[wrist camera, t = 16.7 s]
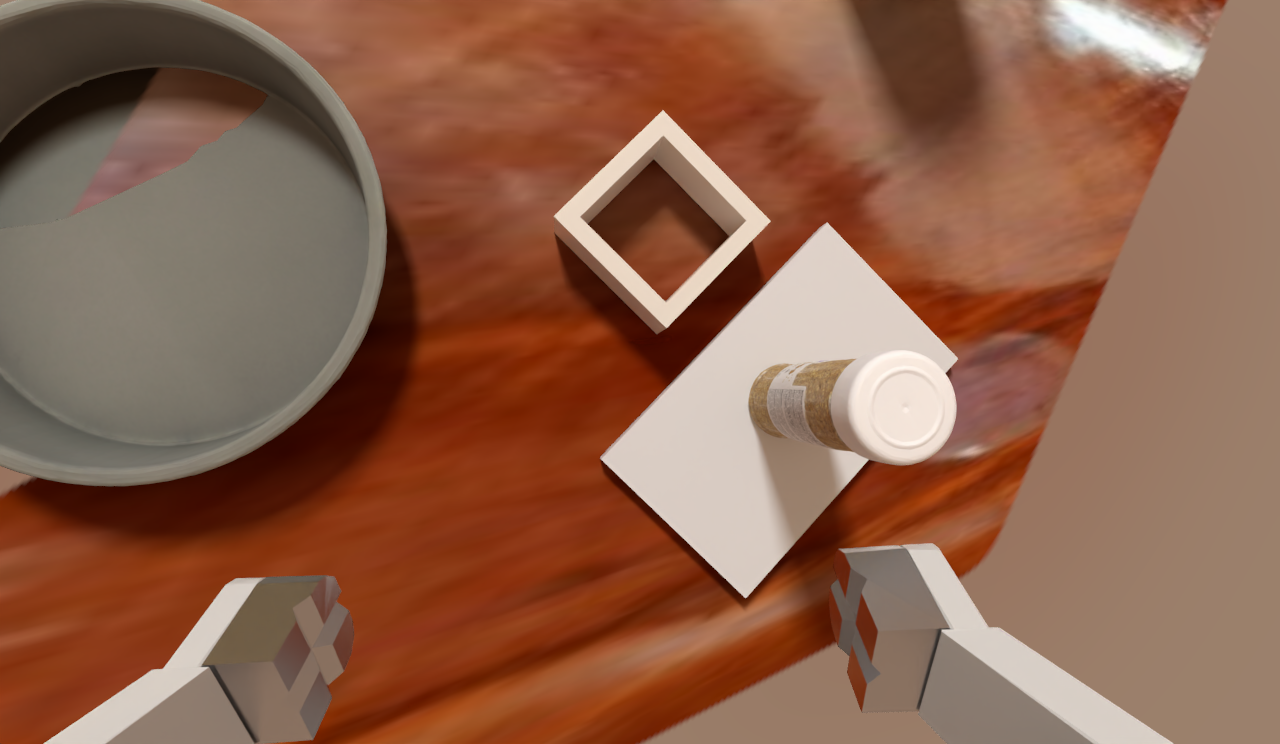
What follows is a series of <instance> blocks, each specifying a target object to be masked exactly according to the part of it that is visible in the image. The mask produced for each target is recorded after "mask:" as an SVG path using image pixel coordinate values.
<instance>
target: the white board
mask: <svg viewBox="0 0 1280 744" xmlns="http://www.w3.org/2000/svg"><path fill="white" fill-rule="evenodd" d="M892 350H907V351H912V352H916V353H919V354H922V355H924V356H926V357H928V358H929V359H931V360H932V361H934V362H935V363H936V364H937V365H938V366H939V367H940V368H941V369H942V370H943V371H944V372H945V373H946V372H947V371H948V370H949V369H950V368H951V366H952V365H953V364H954V363H955V362H956V361H957V360H958V358H957V357H956V356H955V355H954V354H953V353H952V352H951V351H950V350H949V349H948V348H947V347H946V346H945V344H944V343H943V342H942V341H941V340H940V339H939V338H938V337H937V336H936V335H935V334H934V333H933V332H932V331H931V330H930V329H929V328H928V327H927V326H926V325H925V324H924V323H923V322H922V321H921V320H920V319H919V317H918V316H917V315H916V314H915V313H914V312H913V311H912V310H911V309H910V308H909V307H908V306H907V305H906V304H905V303H904V302H903V301H902V300H901V299H900V298H899V297H898V296H897V295H896V294H895V293H894V291H893V290H892V289H891V288H890V287H889V286H888V285H887V284H886V283H885V282H884V281H883V280H882V279H881V278H880V277H879V276H878V275H877V274H876V273H875V272H874V271H873V270H872V269H871V268H870V267H869V266H868V264H867V263H866V262H865V261H864V260H863V259H862V258H861V257H860V256H859V255H858V254H857V253H856V252H855V251H854V250H853V249H852V248H851V247H850V246H849V245H848V244H847V243H846V242H845V241H844V240H843V238H842V237H841V236H840V235H839V234H838V233H837V232H836V231H835V230H834V229H833V228H832V227H831V226H830V225H829V224H828V223H826V224H824V225H822V226H821V227H820V228H819V229H818V230H817V231H816V232H815V233H814V234H813V235H812V236H811V237H810V238H809V239H808V240H807V241H806V242H805V243H804V244H803V245H802V247H801V248H800V249H799V250H798V251H797V252H796V253H795V254H794V255H793V256H792V257H791V258H790V259H789V260H788V261H787V262H786V263H785V264H784V265H783V266H782V267H781V269H780V270H779V271H778V272H777V273H776V274H775V275H774V276H773V277H772V278H771V279H770V280H769V281H768V282H767V283H766V284H765V285H764V286H763V287H762V288H761V289H760V290H759V292H758V293H757V294H756V295H755V296H754V297H753V298H752V299H751V300H750V301H749V302H748V303H747V304H746V305H745V306H744V307H743V308H742V309H741V310H740V311H739V312H738V314H737V315H736V316H735V317H734V318H733V319H732V320H731V321H730V322H729V323H728V324H727V325H726V326H725V327H724V328H723V329H722V330H721V331H720V332H719V333H718V334H717V335H716V337H715V338H714V339H713V340H712V341H711V342H710V343H709V344H708V345H707V346H706V347H705V348H704V349H703V350H702V351H701V352H700V353H699V354H698V355H697V356H696V357H695V359H694V360H693V361H692V362H691V363H690V364H689V365H688V366H687V367H686V368H685V369H684V370H683V371H682V372H681V373H680V374H679V375H678V376H677V377H676V378H675V379H674V380H673V382H672V383H671V384H670V385H669V386H668V387H667V388H666V389H665V390H664V391H663V392H662V393H661V394H660V395H659V396H658V397H657V398H656V399H655V400H654V401H653V402H652V404H651V405H650V406H649V407H648V408H647V409H646V410H645V411H644V412H643V413H642V414H641V415H640V416H639V417H638V418H637V419H636V420H635V421H634V422H633V423H632V424H631V425H630V427H629V428H628V429H627V430H626V431H625V432H624V433H623V434H622V435H621V436H620V437H619V438H618V439H617V440H616V441H615V442H614V443H613V444H612V445H611V446H610V447H609V449H608V450H607V451H606V452H605V453H604V454H603V455H602V456H601V457H600V459H601V460H602V461H603V462H604V463H605V464H606V465H607V466H608V467H609V468H610V469H612V470H613V471H614V472H615V473H616V474H617V475H618V476H619V477H620V478H621V479H622V480H623V481H624V482H625V483H626V484H627V485H628V486H629V487H630V488H631V489H632V490H633V491H634V492H635V493H636V494H637V495H639V496H640V497H641V498H642V499H643V500H644V501H645V502H646V503H647V504H648V505H649V506H650V507H651V508H652V509H653V510H654V511H655V512H656V513H657V514H658V515H659V516H660V517H661V518H662V519H663V520H665V521H666V522H667V523H668V524H669V525H670V526H671V527H672V528H673V529H674V530H675V531H676V532H677V533H678V534H679V535H680V536H681V537H682V538H683V539H684V540H685V541H686V542H687V543H688V544H689V545H691V546H692V547H693V548H694V549H695V550H696V551H697V552H698V553H699V554H700V555H701V556H702V557H703V558H704V559H705V560H706V561H707V562H708V563H709V564H710V565H711V566H712V567H713V568H714V569H715V570H717V571H718V572H719V573H720V574H721V575H722V576H723V577H724V578H725V579H726V580H727V581H728V582H729V583H730V584H731V585H732V586H733V587H734V588H735V589H736V590H737V591H738V592H739V593H740V594H741V595H743V596H744V597H745V598H747V597H748V595H749V594H750V593H751V592H752V591H753V590H754V589H755V588H756V586H757V585H758V584H759V583H760V582H761V581H762V580H763V578H764V577H765V576H766V575H767V574H768V573H769V572H770V571H771V569H772V568H773V567H774V566H775V565H776V564H777V563H778V562H779V560H780V559H781V558H782V557H783V556H784V555H785V554H786V553H787V551H788V550H789V549H790V548H791V547H792V546H793V545H794V544H795V542H796V541H797V540H798V539H799V538H800V537H801V536H802V534H803V533H804V532H805V531H806V530H807V529H808V528H809V527H810V525H811V524H812V523H813V522H814V521H815V520H816V519H817V518H818V516H819V515H820V514H821V513H822V512H823V511H824V510H825V509H826V507H827V506H828V505H829V504H830V503H831V502H832V501H833V500H834V498H835V497H836V496H837V495H838V494H839V493H840V492H841V490H842V489H843V488H844V487H845V486H846V485H847V484H848V483H849V481H850V480H851V479H852V478H853V477H854V476H855V475H856V474H857V472H858V471H859V470H860V469H861V468H862V467H863V466H864V465H865V463H866V462H867V461H868V460H869V459H866V458H864V457H862V456H860V455H858V454H856V453H855V452H851V451H840V450H835V449H830V448H826V447H821V446H817V445H813V444H809V443H804V442H800V441H796V440H793V439H790V438H778V437H774V436H772V435H769V434H767V433H766V432H764V431H763V430H762V429H760V428H759V427H758V425H757V424H756V423H755V421H754V420H753V418H752V415H751V412H750V407H749V403H748V400H749V394H750V390H751V387H752V385H753V383H754V381H755V379H756V378H757V377H758V376H759V374H760V373H761V372H763V371H764V370H766V369H767V368H769V367H771V366H774V365H777V364H784V363H785V364H796V363H804V362H815V361H825V360H848V359H858V358H860V357H861V356H864V355H866V354H870V353H874V352H881V351H892Z"/></svg>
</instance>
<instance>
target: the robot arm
mask: <svg viewBox="0 0 1280 744" xmlns="http://www.w3.org/2000/svg"><path fill="white" fill-rule="evenodd" d="M833 568H834V570H835V573H836V575H837V578H838V579H837V580H836V581H835V582H834V583H833V584H832V585H831V586H830V594H829V611H830V620H831V625H832V629H833V633H834V636H835V639H836V642H837V645H838V647H839V648H840V649H842V650H843V651H844V652H845V653H846V654H848V655H849V656H850V657H849V664H848V670H847V673H848V676H849V679H850V682H851V684H852V687H853V690H854V693H855V695H856V698H857V701H858V704H859V707H860V709H861V712H862V713H868V712H915V711H919V713H918V715H919V716H920V717H921V718H922V719H923V720H924V721H925V722H926V723H927V724H928V725H929V726H930V727H931V728H932V729H933V730H934V731H935V732H936V733H937V734H938V735H939V736H940V737H941V738H942V739H943V740H944V741H945V742H946V743H947V744H1173V743H1172V742H1170V741H1169V740H1167V739H1165V738H1164V737H1163V736H1161V735H1160V734H1158V733H1157V732H1155V731H1154V730H1152V729H1151V728H1149V727H1148V726H1146V725H1145V724H1143V723H1142V722H1140V721H1139V720H1137V719H1136V718H1134V717H1133V716H1131V715H1129V714H1128V713H1127V712H1125V711H1124V710H1122V709H1121V708H1119V707H1118V706H1116V705H1115V704H1113V703H1112V702H1110V701H1109V700H1107V699H1105V698H1104V697H1103V696H1101V695H1100V694H1098V693H1097V692H1095V691H1094V690H1092V689H1091V688H1089V687H1088V686H1086V685H1085V684H1083V683H1082V682H1080V681H1079V680H1077V679H1076V678H1074V677H1073V676H1071V675H1070V674H1068V673H1067V672H1065V671H1064V670H1062V669H1061V668H1059V667H1058V666H1056V665H1055V664H1053V663H1052V662H1050V661H1049V660H1047V659H1046V658H1044V657H1043V656H1041V655H1039V654H1038V653H1037V652H1035V651H1034V650H1032V649H1031V648H1029V647H1028V646H1026V645H1025V644H1023V643H1022V642H1020V641H1019V640H1017V639H1016V638H1014V637H1012V636H1011V635H1010V634H1008V633H1006V632H1005V631H1004V630H1002V629H1001V628H999V627H998V628H997V627H994V628H993V627H991V628H989V627H988V625H987V624H986V622H985V621H984V619H983V618H982V616H981V614H980V613H979V611H978V610H977V608H976V606H975V605H974V603H973V602H972V600H971V599H970V597H969V595H968V594H967V592H966V591H965V589H964V587H963V586H962V584H961V583H960V581H959V579H958V578H957V576H956V575H955V573H954V571H953V570H952V568H951V567H950V565H949V564H948V562H947V560H946V559H945V557H944V556H943V554H942V552H941V551H940V549H939V548H938V547H937V546H935V545H934V544H933V543H929V544H912V545H901V546H897V545H895V546H878V547H862V548H846V549H838V550H837V552H836V554H835V558H834V564H833ZM340 593H341V590H340V588H339V586H338V584H337V581H336V579H335V577H332V576H287V577H266V578H236V579H234V580H233V581H231V582H229V583H228V584H226V585H225V586H224V588H223V589H222V590H221V592H220V593H219V594H218V596H217V597H216V598H215V600H214V601H213V602H212V604H211V605H210V606H209V608H208V609H207V610H206V612H205V613H204V614H203V616H202V617H201V618H200V620H199V621H198V622H197V624H196V625H195V627H194V628H193V629H192V631H191V632H190V633H189V635H188V636H187V637H186V639H185V640H184V641H183V643H182V644H181V645H180V647H179V648H178V649H177V651H176V652H175V653H174V655H173V656H172V657H171V659H170V660H169V662H168V663H167V664H166V666H165V667H164V668H163V669H155V670H152V671H150V672H149V673H147V674H146V675H144V676H143V677H141V678H140V679H138V680H137V681H135V682H134V683H132V684H131V685H129V686H128V687H126V688H125V689H124V690H122V691H121V692H119V693H118V694H116V695H115V696H113V697H112V698H110V699H109V700H107V701H106V702H104V703H103V704H101V705H100V706H98V707H97V708H95V709H94V710H93V711H91V712H90V713H88V714H87V715H85V716H84V717H82V718H81V719H79V720H78V721H76V722H75V723H73V724H72V725H70V726H69V727H67V728H66V729H64V730H63V731H62V732H60V733H59V734H57V735H56V736H54V737H53V738H51V739H50V740H48V741H47V742H45V743H44V744H266V743H278V742H291V741H304V740H313V739H314V736H315V734H316V732H317V730H318V728H319V725H320V723H321V721H322V719H323V717H324V714H325V712H326V710H327V708H328V706H329V703H330V701H331V699H332V696H331V693H330V690H329V686H328V685H329V684H330V683H331V682H332V681H333V680H334V679H336V678H337V677H338V676H339V675H340V674H341V673H342V672H344V670H345V667H346V665H347V663H348V660H349V658H350V656H351V652H352V646H353V640H354V628H353V620H352V618H351V615H350V612H349V610H347V609H346V608H344V607H343V606H341V605H340V604H339V603H337V602H336V600H337V599H338V597H339V595H340Z"/></svg>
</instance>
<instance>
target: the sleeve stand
mask: <svg viewBox="0 0 1280 744" xmlns="http://www.w3.org/2000/svg"><path fill="white" fill-rule="evenodd" d="M653 159H654V160H655V161H656V162H657V163H658V164H659V165H660V166H661V167H662V168H663V169H664V170H665V171H666V172H667V173H668V174H669V175H670V176H671V177H672V178H673V179H674V180H675V181H676V182H677V183H678V184H679V185H680V186H681V187H682V188H683V189H684V191H685V192H686V193H687V194H688V195H689V196H690V197H691V198H692V199H693V200H694V201H695V202H696V203H697V204H698V205H699V206H700V207H701V208H702V209H703V210H704V211H705V212H706V213H707V214H708V215H709V216H710V217H711V218H712V219H713V220H714V221H715V222H716V223H717V224H718V225H719V226H720V227H721V228H722V229H723V230H724V231H725V232H726V233H727V234H728V235H729V237H728V238H727V239H726V240H725V241H724V242H723V243H722V244H721V245H720V246H719V247H718V248H717V249H716V250H715V251H714V252H713V253H712V254H711V255H710V257H709V258H708V259H707V260H706V261H705V262H704V263H703V264H702V265H701V266H700V267H699V268H698V269H697V270H696V271H695V272H694V273H693V274H692V275H691V276H690V277H689V278H688V279H687V280H686V281H685V282H684V283H683V284H682V285H681V286H680V287H679V288H678V289H677V290H676V291H675V292H674V293H673V294H672V295H671V296H670V297H669V298H668V299H667V300H666V302H665V301H664V300H663V299H662V298H661V297H660V296H659V295H658V294H657V293H656V292H655V291H654V290H653V289H652V288H651V287H650V286H649V285H648V284H647V283H646V282H645V281H644V280H643V279H642V278H641V277H640V276H639V275H638V274H637V273H636V272H635V271H634V270H633V269H632V268H631V267H630V266H629V265H628V264H627V263H626V262H625V261H624V260H623V259H622V258H621V257H620V256H619V255H618V254H617V253H616V252H615V251H614V250H613V249H612V248H611V247H610V246H609V245H608V244H607V243H606V242H605V241H604V240H603V239H602V238H601V237H600V236H599V235H598V234H597V233H596V232H595V231H594V230H593V229H592V228H591V227H590V226H589V225H588V223H589V222H590V221H591V220H592V219H593V218H594V217H595V216H596V215H597V214H598V213H599V212H600V211H601V210H602V209H603V208H605V207H606V206H607V205H608V204H609V203H610V202H611V201H612V200H613V199H614V198H615V197H616V196H617V195H618V194H619V193H620V192H621V191H622V190H623V189H624V188H625V187H626V186H627V185H628V184H629V183H630V182H631V181H632V180H633V179H634V178H635V177H636V176H637V175H638V174H639V173H640V172H641V171H642V170H643V169H644V168H645V167H646V166H647V165H648V164H649V163H650V162H651V161H652V160H653ZM769 222H770V220H769V219H768V218H767V217H766V216H765V215H764V214H763V213H762V212H761V211H760V210H759V209H758V208H757V207H756V206H755V204H754V203H753V202H752V201H751V200H750V199H749V198H748V197H747V196H746V195H745V194H744V193H743V192H742V191H741V190H740V189H739V188H738V187H737V186H736V185H735V184H734V183H733V182H732V181H731V180H730V179H729V178H728V177H727V176H726V175H725V174H724V173H723V172H722V171H721V169H720V168H719V167H718V166H717V165H716V164H715V163H714V162H713V161H712V160H711V159H710V158H709V157H708V156H707V155H706V154H705V153H704V152H703V151H702V150H701V149H700V148H699V147H698V146H697V145H696V144H695V143H694V142H693V141H692V140H691V139H690V138H689V137H688V136H687V134H686V133H685V132H684V131H683V130H682V129H681V128H680V127H679V126H678V125H677V124H676V123H675V122H674V121H673V120H672V119H671V118H670V117H669V116H668V115H667V114H666V113H665V112H664V111H662V112H661V113H660V114H659V115H658V116H657V117H656V118H655V119H654V120H652V121H651V122H650V123H649V124H648V125H647V126H646V127H645V128H644V129H643V130H642V131H641V132H640V133H639V134H638V135H637V136H636V137H635V138H634V139H633V140H632V141H631V142H630V143H629V144H628V145H627V146H626V147H625V148H624V149H623V150H622V151H621V152H619V153H618V154H617V155H616V156H615V157H614V158H613V159H612V160H611V161H610V162H609V163H608V164H607V165H606V166H605V167H604V168H603V169H602V170H601V171H600V172H599V173H598V174H597V175H596V176H595V177H594V178H593V179H592V180H591V181H590V182H589V183H588V184H587V185H585V186H584V187H583V188H582V189H581V190H580V191H579V192H578V193H577V194H576V195H575V196H574V197H573V198H572V199H571V200H570V201H569V202H568V203H567V204H566V205H565V206H564V207H563V208H562V209H561V210H560V211H559V212H558V213H557V214H556V215H555V216H554V233H555V234H556V235H557V236H558V237H559V238H560V239H561V240H562V241H563V242H564V243H565V244H566V245H567V246H568V247H569V248H570V249H571V250H572V251H573V252H574V253H575V254H576V255H577V256H578V257H579V258H580V259H581V260H582V261H583V262H584V263H585V264H586V265H587V266H588V267H589V268H590V269H591V270H592V271H593V272H594V273H595V274H596V275H597V276H598V277H599V278H600V279H601V280H602V281H603V282H604V283H605V284H606V285H607V286H608V287H609V288H610V289H611V290H612V291H613V292H614V293H615V294H616V295H617V296H618V297H619V298H620V299H621V300H622V301H623V302H624V303H625V304H626V305H628V306H629V307H630V308H631V309H632V310H633V311H634V312H635V313H636V314H637V315H638V316H639V317H640V318H641V319H642V320H643V321H644V322H645V323H646V324H647V325H648V326H649V327H650V328H651V329H652V330H653V331H654V332H655V333H656V334H658V333H660V332H661V331H663V330H665V329H666V328H667V327H668V326H669V325H670V324H671V323H672V322H673V321H674V320H675V319H676V318H677V317H678V316H679V315H680V314H681V313H682V312H683V311H684V310H685V309H686V308H687V307H688V306H689V305H690V304H691V303H692V302H693V301H694V300H695V299H696V298H697V296H698V295H699V294H700V293H701V292H702V291H703V290H704V289H705V288H706V287H707V286H708V285H709V284H710V283H711V282H712V281H713V280H714V279H715V278H716V277H717V276H718V275H719V274H720V273H721V272H722V271H723V270H724V269H725V268H726V267H727V266H728V265H729V264H730V262H731V261H732V260H733V259H734V258H735V257H736V256H737V255H738V254H739V253H740V252H741V251H742V250H743V249H744V248H745V247H746V246H747V245H748V244H749V243H750V242H751V241H752V240H753V239H754V238H755V237H756V236H757V235H758V234H759V233H760V232H761V231H762V230H763V228H764V227H765V226H766V225H767V224H768V223H769Z"/></svg>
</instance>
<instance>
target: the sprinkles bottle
mask: <svg viewBox="0 0 1280 744" xmlns="http://www.w3.org/2000/svg"><path fill="white" fill-rule="evenodd" d="M748 403H749V407H750V412H751V415H752V418H753V420H754V421H755V423H756V424H757V425H758V427H759V428H760V429H762V430H763V431H764V432H766V433H767V434H769V435H772V436H774V437H778V438H790V439H793V440H796V441H800V442H804V443H809V444H813V445H817V446H821V447H826V448H830V449H835V450H840V451H851V452H855V453H856V454H858V455H860V456H862V457H864V458H866V459H869V460H873V461H877V462H881V463H887V464H894V465H910V464H915V463H918V462H921V461H924V460H926V459H928V458H929V457H931V456H932V455H934V454H935V453H936V452H938V451H939V450H940V449H941V447H942V446H943V445H944V444H945V443H946V441H947V440H948V438H949V436H950V434H951V432H952V430H953V427H954V423H955V419H956V398H955V393H954V390H953V387H952V384H951V382H950V380H949V378H948V377H947V375H946V374H945V372H944V371H943V370H942V369H941V368H940V367H939V366H938V365H937V364H936V363H935V362H934V361H932V360H931V359H929V358H928V357H926V356H924V355H922V354H919V353H916V352H912V351H907V350H892V351H881V352H874V353H870V354H866V355H864V356H861V357H860V358H858V359H848V360H825V361H815V362H804V363H796V364H785V363H784V364H777V365H774V366H771V367H769V368H767V369H766V370H764V371H763V372H761V373H760V374H759V376H758V377H757V378H756V379H755V381H754V383H753V385H752V387H751V390H750V394H749V400H748Z"/></svg>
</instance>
